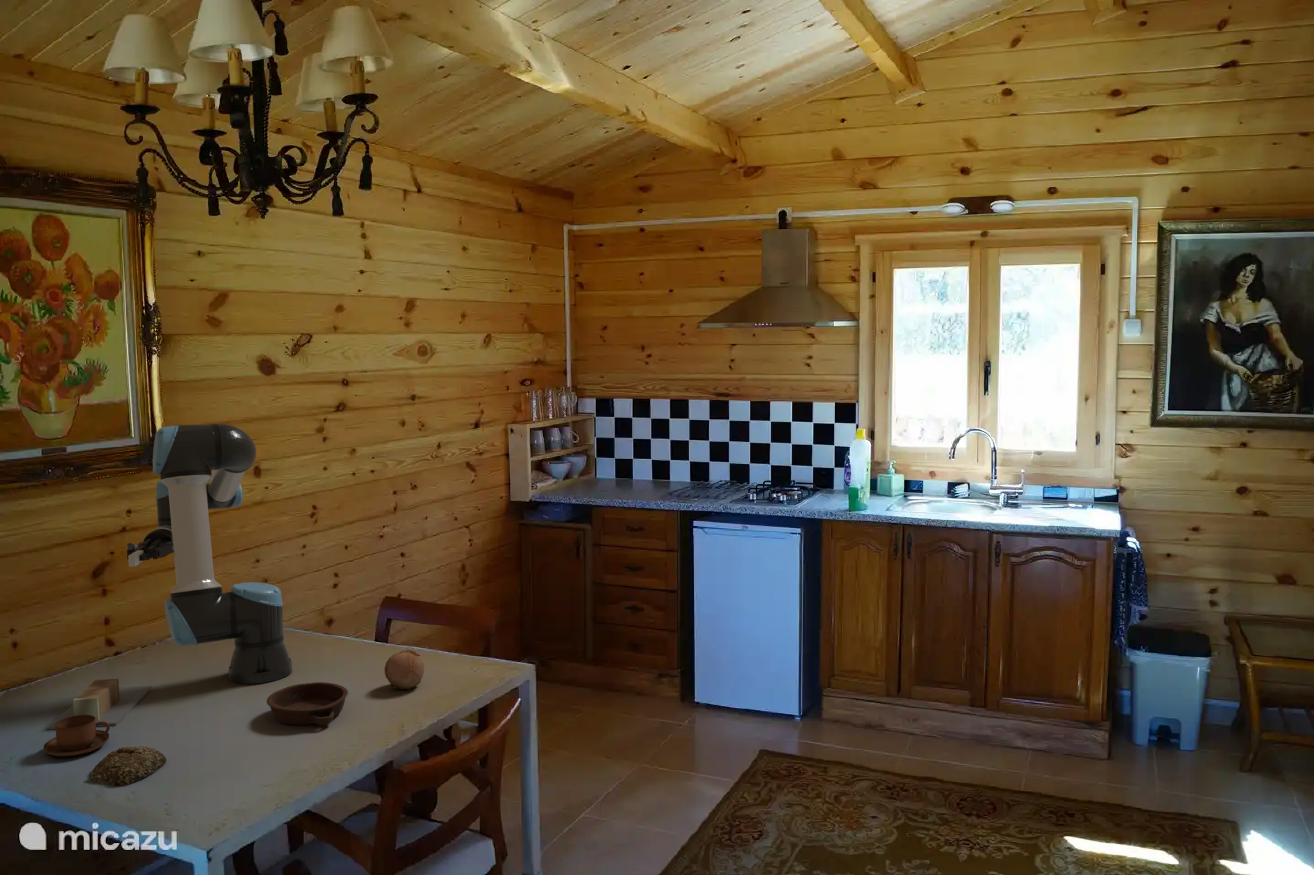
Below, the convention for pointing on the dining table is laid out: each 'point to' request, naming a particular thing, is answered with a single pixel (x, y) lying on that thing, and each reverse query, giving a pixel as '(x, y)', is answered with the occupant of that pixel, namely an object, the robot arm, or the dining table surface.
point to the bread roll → (127, 765)
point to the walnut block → (97, 698)
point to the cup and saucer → (77, 736)
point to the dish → (308, 703)
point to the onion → (404, 669)
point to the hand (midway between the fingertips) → (131, 561)
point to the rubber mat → (115, 706)
